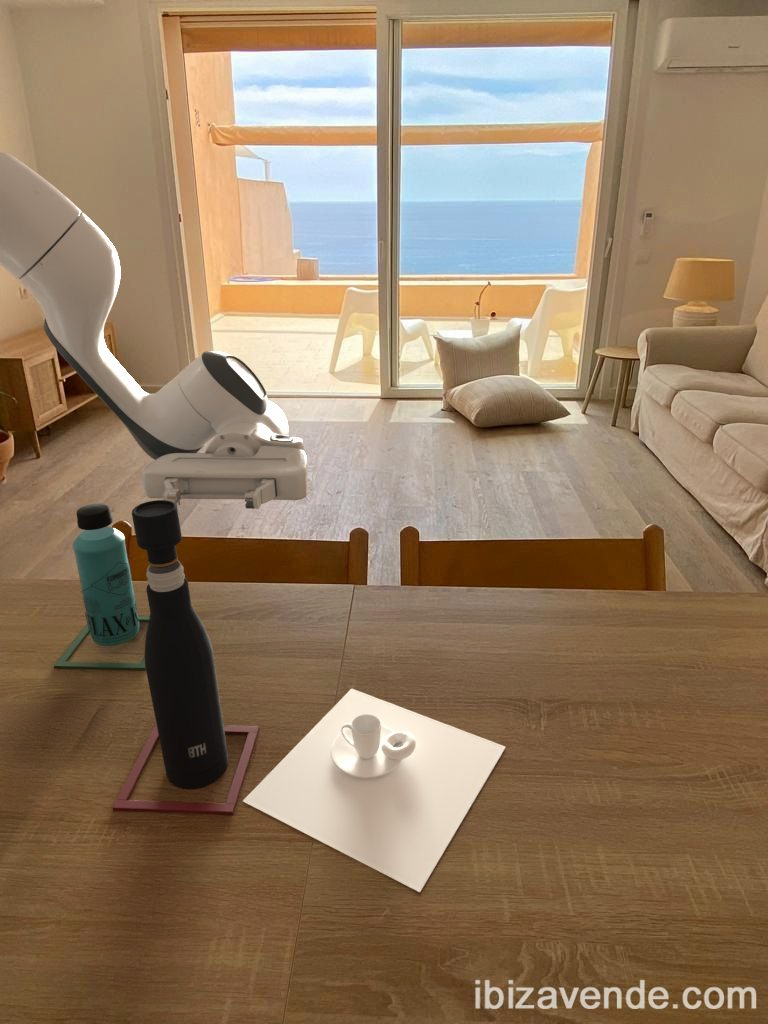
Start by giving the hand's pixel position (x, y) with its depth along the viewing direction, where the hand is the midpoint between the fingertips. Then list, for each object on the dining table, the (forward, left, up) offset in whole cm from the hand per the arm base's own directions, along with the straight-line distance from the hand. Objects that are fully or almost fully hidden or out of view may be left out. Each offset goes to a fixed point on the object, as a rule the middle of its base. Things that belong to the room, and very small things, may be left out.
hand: (210, 502), depth 79 cm
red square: (0, -17, -23) cm, 29 cm away
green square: (-17, +5, -23) cm, 29 cm away
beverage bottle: (-17, +5, -23) cm, 29 cm away
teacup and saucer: (+20, -17, -23) cm, 35 cm away
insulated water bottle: (+1, -17, -23) cm, 29 cm away
